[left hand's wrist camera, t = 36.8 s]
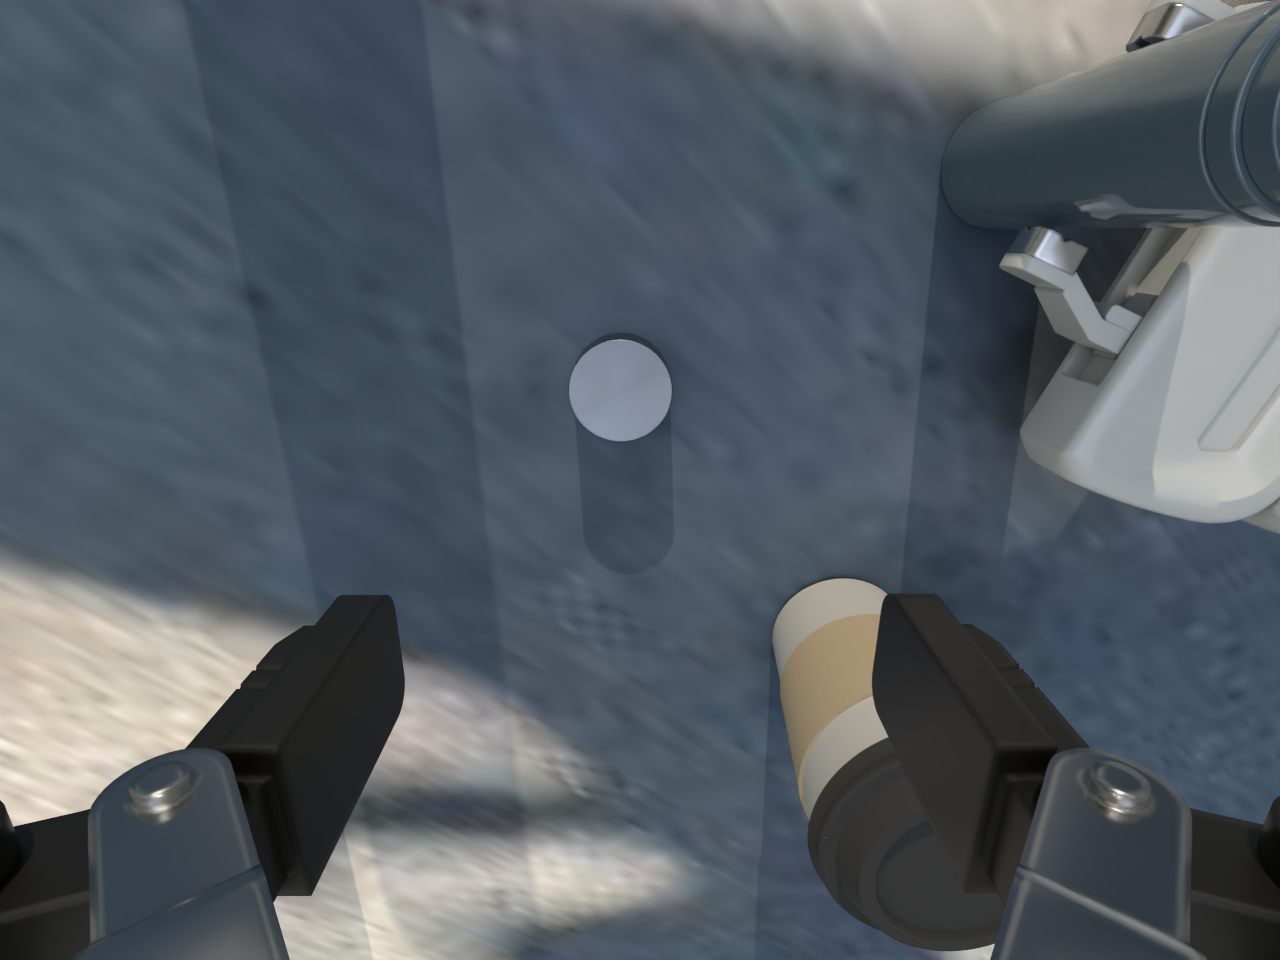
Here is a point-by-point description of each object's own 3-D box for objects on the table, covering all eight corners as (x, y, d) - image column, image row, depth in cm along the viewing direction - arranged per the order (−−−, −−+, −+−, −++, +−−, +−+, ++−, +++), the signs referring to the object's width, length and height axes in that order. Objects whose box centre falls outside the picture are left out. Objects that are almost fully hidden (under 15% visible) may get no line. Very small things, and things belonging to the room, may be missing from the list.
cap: (577, 326, 31) (574, 332, 29) (677, 340, 31) (679, 347, 30) (567, 423, 33) (563, 434, 31) (662, 435, 33) (664, 447, 31)
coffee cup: (880, 725, 38) (1024, 1012, 24) (726, 683, 37) (783, 957, 23) (954, 586, 36) (1167, 820, 21) (790, 536, 35) (900, 747, 20)
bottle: (1065, 89, 28) (1961, -205, 9) (1057, 220, 30) (1800, 200, 11) (941, 108, 28) (1567, -143, 9) (940, 236, 30) (1469, 245, 11)
